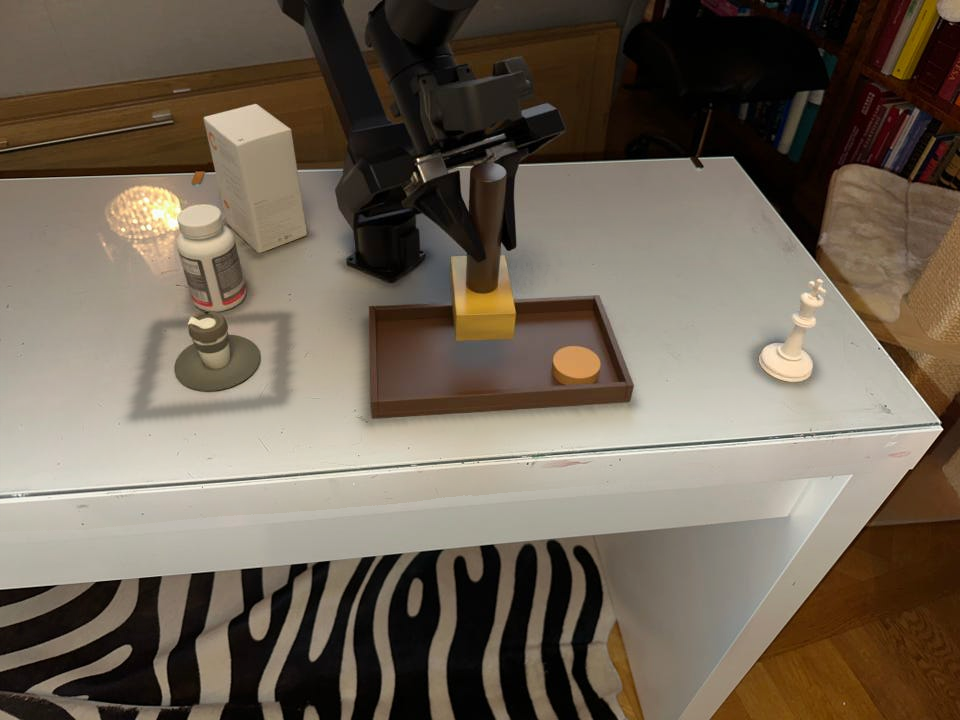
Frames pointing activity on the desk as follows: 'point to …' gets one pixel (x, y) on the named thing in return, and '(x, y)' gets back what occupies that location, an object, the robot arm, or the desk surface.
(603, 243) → the desk surface
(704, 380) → the desk surface
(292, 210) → the small box
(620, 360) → the tray
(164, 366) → the desk surface
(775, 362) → the chess piece
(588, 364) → the disc
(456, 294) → the sponge wand
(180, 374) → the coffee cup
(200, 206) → the pill bottle
